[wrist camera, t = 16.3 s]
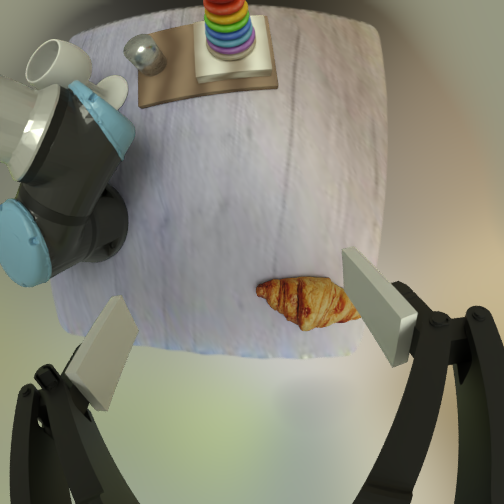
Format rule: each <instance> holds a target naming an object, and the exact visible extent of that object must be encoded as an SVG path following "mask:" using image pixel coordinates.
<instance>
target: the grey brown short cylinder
mask: <svg viewBox="0 0 504 504" xmlns="http://www.w3.org/2000/svg"><path fill="white" fill-rule="evenodd" d="M124 56H125V57H126V58H127V59H128V60H129V61H130V62H131V63H132V64H133V65H134V66H135V67H136V68H138V69H139V70H140V71H141V72H142V73H143V74H144V75H145V76H155V75H158V74H159V73H161V72H162V71H163V70H164V69H165V67H166V65H167V59H166V57H165V56H164V54H163V53H162V51H161V50H160V48H159V47H158V46H157V44H156V43H155V41H154V40H153V38H152V37H151V36H150V35H147V34H140V35H137V36H135V37H133V38H132V39H130V40H129V41H128V42H127V44H126V45H125V47H124Z"/></svg>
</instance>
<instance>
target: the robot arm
mask: <svg viewBox="0 0 504 504" xmlns="http://www.w3.org/2000/svg"><path fill="white" fill-rule="evenodd" d="M134 137H135V127H134V125H133V124H132V123H131V122H130V121H129V120H128V119H127V118H126V117H125V116H123V115H122V114H121V113H120V112H119V111H117V110H116V109H115V108H114V107H113V106H111V105H110V104H109V103H108V102H106V101H105V100H104V99H102V98H101V97H100V96H98V95H97V94H96V93H94V92H93V91H92V90H91V89H90V88H88V87H87V86H86V85H84V84H83V83H81V82H80V81H78V80H75V81H73V82H72V83H71V84H69V85H68V89H66V88H64V87H62V86H60V85H58V84H53V85H50V86H48V87H46V88H43V89H41V90H36V89H33V88H31V87H29V86H27V85H24V84H22V83H20V82H17V81H15V80H13V79H10V78H7V77H5V76H3V75H0V162H1V163H5V164H6V165H7V166H8V168H9V171H10V173H11V176H12V178H13V180H15V181H18V182H21V183H20V186H19V189H18V192H17V194H16V197H15V199H7V200H6V201H5V202H4V203H3V204H1V205H0V264H1V266H2V267H3V269H4V270H5V272H6V273H7V275H8V276H9V277H10V278H11V279H12V280H13V281H14V282H15V283H17V284H18V285H20V286H23V287H34V286H36V285H38V284H41V283H46V282H47V281H48V280H49V279H50V278H52V277H54V276H56V275H57V274H59V273H61V272H63V271H65V270H66V269H68V268H70V267H72V266H74V265H76V264H77V263H79V262H91V263H95V262H101V261H104V260H106V259H108V258H109V257H111V256H113V255H114V254H115V253H117V251H118V250H119V249H120V248H121V246H122V245H123V243H124V241H125V238H126V235H127V230H128V214H127V210H126V206H125V204H124V201H123V199H122V198H121V196H120V195H119V193H118V192H117V191H116V190H115V189H114V188H113V187H112V186H110V185H109V184H107V183H108V182H109V180H110V178H111V176H112V175H113V173H114V171H115V169H116V168H117V166H118V164H119V163H120V161H123V160H124V155H125V153H126V151H127V150H128V148H129V146H130V145H131V143H132V141H133V140H134ZM342 260H343V278H344V291H345V293H346V294H347V296H348V297H349V299H350V300H351V302H352V304H353V305H354V307H355V308H356V310H357V311H358V313H359V314H360V316H361V317H362V319H363V321H364V322H365V324H366V325H367V327H368V328H369V330H370V332H371V333H372V335H373V336H374V338H375V340H376V341H377V343H378V344H379V346H380V348H381V349H382V351H383V352H384V354H385V356H386V358H387V359H388V361H389V363H390V364H391V366H392V367H396V366H398V365H401V364H403V363H406V362H407V361H408V357H409V353H410V354H411V355H412V356H413V358H414V360H413V364H412V368H411V371H410V375H409V378H408V381H407V384H406V388H405V391H404V394H403V397H402V400H401V402H400V405H399V408H398V411H397V413H396V416H395V419H394V421H393V424H392V426H391V429H390V431H389V434H388V436H387V438H386V441H385V443H384V445H383V447H382V449H381V452H380V454H379V456H378V458H377V460H376V462H375V464H374V466H373V468H372V470H371V472H370V474H369V476H368V478H367V479H366V481H365V483H364V485H363V486H362V488H361V490H360V492H359V493H358V495H357V497H356V499H355V500H354V502H353V503H352V504H410V503H411V500H412V496H413V494H412V491H413V488H414V485H415V483H416V481H417V478H418V476H419V473H420V471H421V468H422V465H423V462H424V460H425V457H426V454H427V451H428V448H429V445H430V442H431V439H432V436H433V432H434V428H435V425H436V421H437V417H438V414H439V409H440V405H441V401H442V396H443V391H444V385H445V380H446V374H447V368H448V365H453V370H454V377H455V386H456V395H457V408H458V426H459V427H458V429H459V454H458V473H457V484H456V494H455V501H454V504H504V346H503V343H502V340H501V338H500V335H499V333H498V330H497V327H496V324H495V322H494V319H493V317H492V315H491V313H490V311H489V310H487V309H486V308H484V307H482V306H472V307H470V308H469V309H468V310H467V312H466V315H465V317H462V318H454V319H451V318H450V317H449V316H448V315H447V314H445V313H443V312H439V311H437V312H436V311H432V310H431V309H430V308H429V307H428V306H427V305H426V304H425V303H424V302H423V301H422V300H421V299H420V298H419V297H418V296H417V295H416V293H415V292H413V290H412V289H411V288H410V287H408V286H407V285H406V284H404V283H402V282H399V281H397V282H394V283H390V282H389V281H388V280H387V279H386V278H385V277H384V276H383V275H382V274H381V273H380V272H379V271H378V270H377V269H376V268H375V267H374V266H373V265H372V264H371V263H370V262H369V261H368V260H367V259H366V258H365V257H364V256H363V255H362V254H361V253H360V252H359V251H358V250H357V249H356V248H355V247H350V248H345V249H342ZM138 331H139V330H138V328H137V326H136V324H135V322H134V320H133V318H132V316H131V314H130V312H129V310H128V308H127V306H126V304H125V302H124V299H123V297H122V295H119V296H113V297H111V298H110V300H109V301H108V303H107V304H106V306H105V307H104V309H103V310H102V312H101V313H100V315H99V317H98V318H97V320H96V321H95V323H94V324H93V326H92V327H91V329H90V331H89V332H88V334H87V336H86V337H85V339H84V340H83V342H82V343H81V344H80V345H79V346H78V347H77V348H76V350H75V351H74V353H73V355H72V356H71V358H70V361H69V362H68V363H67V365H66V367H65V369H64V370H63V372H62V374H61V376H60V375H59V373H58V372H57V371H56V369H55V368H54V367H53V365H51V364H46V365H43V366H42V367H40V368H39V369H38V370H37V372H36V373H35V376H34V379H35V380H36V381H37V383H38V384H39V385H40V386H41V388H42V389H41V390H37V389H36V387H35V386H34V385H33V384H27V385H24V386H23V387H22V388H21V390H20V391H19V394H18V399H17V405H16V410H15V416H14V423H13V431H12V441H11V453H10V499H11V504H72V502H71V498H70V491H71V493H72V496H73V498H74V500H75V504H140V503H139V502H138V500H137V499H136V497H135V496H134V494H133V493H132V491H131V490H130V488H129V486H128V485H127V483H126V481H125V480H124V478H123V476H122V475H121V473H120V471H119V469H118V468H117V466H116V464H115V462H114V460H113V458H112V457H111V455H110V453H109V451H108V449H107V447H106V445H105V443H104V441H103V438H102V436H101V434H100V432H99V430H98V428H97V425H96V423H95V421H94V418H93V416H92V414H91V412H90V411H89V409H87V408H88V405H89V403H90V404H91V406H92V407H93V408H94V409H95V410H97V411H108V408H109V405H110V402H111V400H112V397H113V394H114V392H115V389H116V386H117V384H118V381H119V378H120V376H121V373H122V370H123V368H124V365H125V363H126V360H127V358H128V355H129V353H130V350H131V348H132V346H133V343H134V341H135V338H136V336H137V334H138ZM38 420H39V421H40V422H41V423H42V427H40V426H39V424H38ZM69 488H70V491H69Z"/></svg>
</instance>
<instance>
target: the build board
mask: <svg viewBox="0 0 504 504" xmlns="http://www.w3.org/2000/svg"><path fill="white" fill-rule="evenodd" d="M250 18H251V22H252V26H253V27H254V29H255V35H256V44H255V47H254V49H253V50H252V51H251V52H250V53H249V54H248V55H247V56H245V57H243V58H240V59H236V60H222V59H219V58H217V57H215V56H213V55H212V54H211V53H210V52H209V51H208V49H207V47H206V35H205V21H201V22H195V23H193V24H189V25H184V26H179V27H175V28H170V29H166V30H162V31H158V32H154V33H151V34H147V35H150V36H151V37H152V38H153V40H154V41H155V43H156V44H157V46H158V47H159V48H160V50H161V51H162V53H163V54H164V56H165V57H166V59H167V65H166V67H165V69H164V70H163V71H162V72H161V73H159V74H158V75H155V76H145V75H144V74H143V73H142V72H141V71H140V70H139V69H138V107H140V108H141V109H142V108H146V107H150V106H155V105H159V104H163V103H168V102H173V101H178V100H183V99H188V98H194V97H200V96H207V95H214V94H221V93H229V92H238V91H249V90H263V89H277V88H278V80H277V73H276V66H275V60H274V53H273V47H272V41H271V35H270V29H269V23H268V18H267V16H264V15H257V16H250Z"/></svg>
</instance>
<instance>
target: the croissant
mask: <svg viewBox="0 0 504 504" xmlns="http://www.w3.org/2000/svg"><path fill="white" fill-rule="evenodd" d="M256 293H257V296H258V297H262V298H265V299H266V301H267V302H268V304H269V305H270V307H271V308H273V309H274V310H277V311H278V312H279V313H281V314H284V316H285V318H286V319H287V321H291V322H293V323H295V324H297V325H299V327H300V329H301V330H302V331H309V330H311V329H313V328H315V327H317V328H318V327H320V328H322V327H327V326H329V325H331V324H333V323H345V322H347V321H350V320H356V319H359V318H361V316H360V314H359V313H358V311H357V310H356V308H355V307H354V305H353V304H352V302H351V300H350V299H349V297H348V296H347V294H346V293H345V291H344V289H343V288H341V287H339V286H337V285H336V284H334V283H333V282H331V279H330V278H322V277H317V278H315V277H298V278H285V279H281V280H279V279H273V280H270V281H267V282H265V283H262V284H259V285H258V286H257V287H256Z"/></svg>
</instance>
